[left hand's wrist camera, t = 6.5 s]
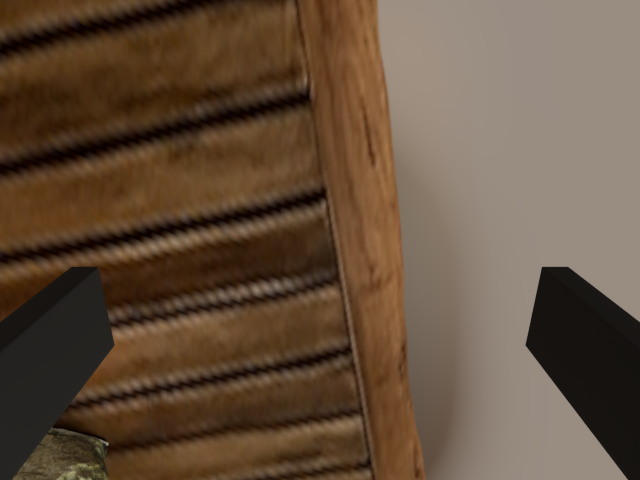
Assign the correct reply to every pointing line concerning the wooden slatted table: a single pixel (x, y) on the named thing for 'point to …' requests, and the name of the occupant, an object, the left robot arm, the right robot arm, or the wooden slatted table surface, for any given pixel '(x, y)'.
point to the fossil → (66, 458)
